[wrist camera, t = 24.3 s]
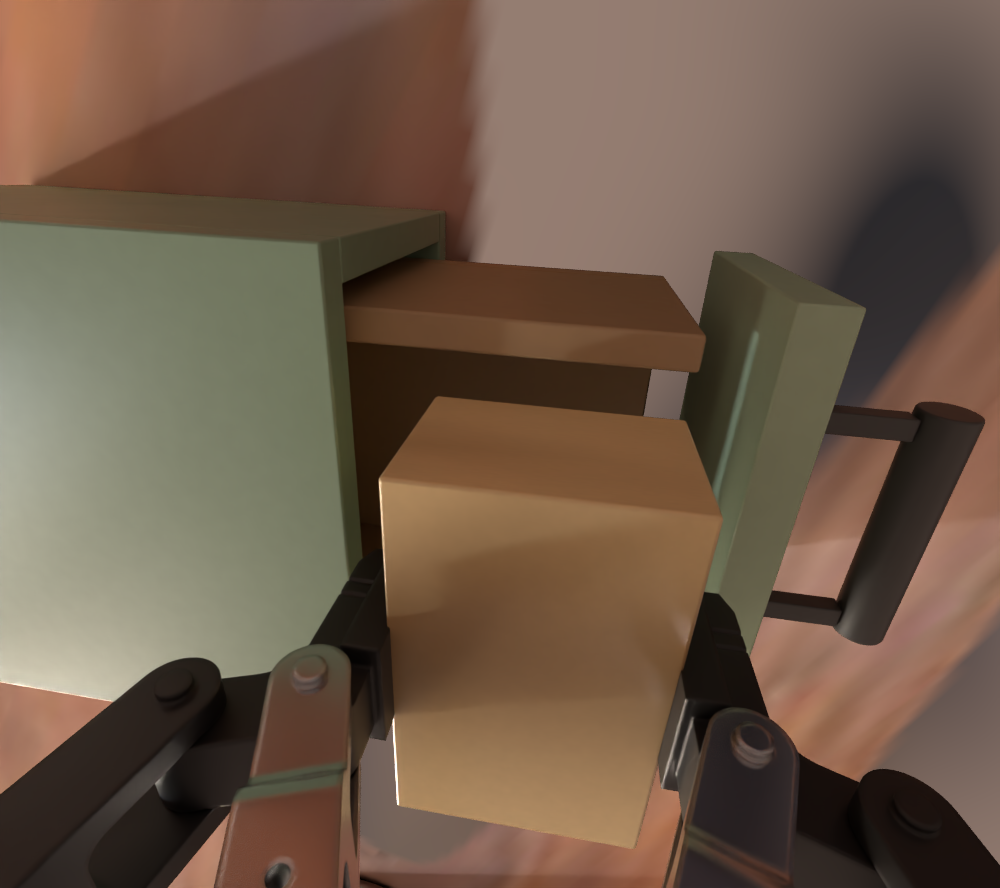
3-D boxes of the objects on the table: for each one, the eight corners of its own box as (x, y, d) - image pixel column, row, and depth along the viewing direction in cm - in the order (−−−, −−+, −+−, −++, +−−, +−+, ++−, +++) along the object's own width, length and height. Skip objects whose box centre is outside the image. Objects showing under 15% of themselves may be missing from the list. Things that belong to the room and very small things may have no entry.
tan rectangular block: (626, 704, 14) (636, 851, 11) (437, 674, 15) (396, 807, 12) (686, 419, 11) (725, 518, 8) (435, 394, 11) (376, 477, 8)
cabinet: (446, 210, 19) (319, 241, 10) (444, 545, 25) (364, 746, 16) (26, 184, 21) (-393, 191, 12) (120, 503, 27) (-110, 664, 18)
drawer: (918, 264, 17) (1160, 329, 10) (798, 593, 22) (895, 789, 15) (302, 223, 19) (128, 251, 12) (333, 533, 24) (228, 679, 17)
